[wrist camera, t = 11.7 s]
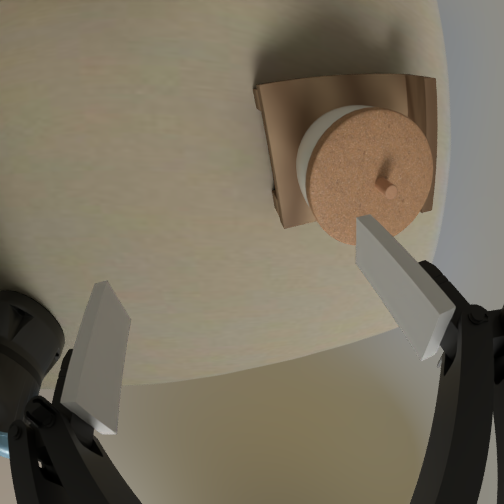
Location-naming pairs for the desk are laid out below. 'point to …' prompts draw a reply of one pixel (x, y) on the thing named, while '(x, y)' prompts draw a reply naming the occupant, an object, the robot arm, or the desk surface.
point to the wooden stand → (322, 101)
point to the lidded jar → (364, 169)
